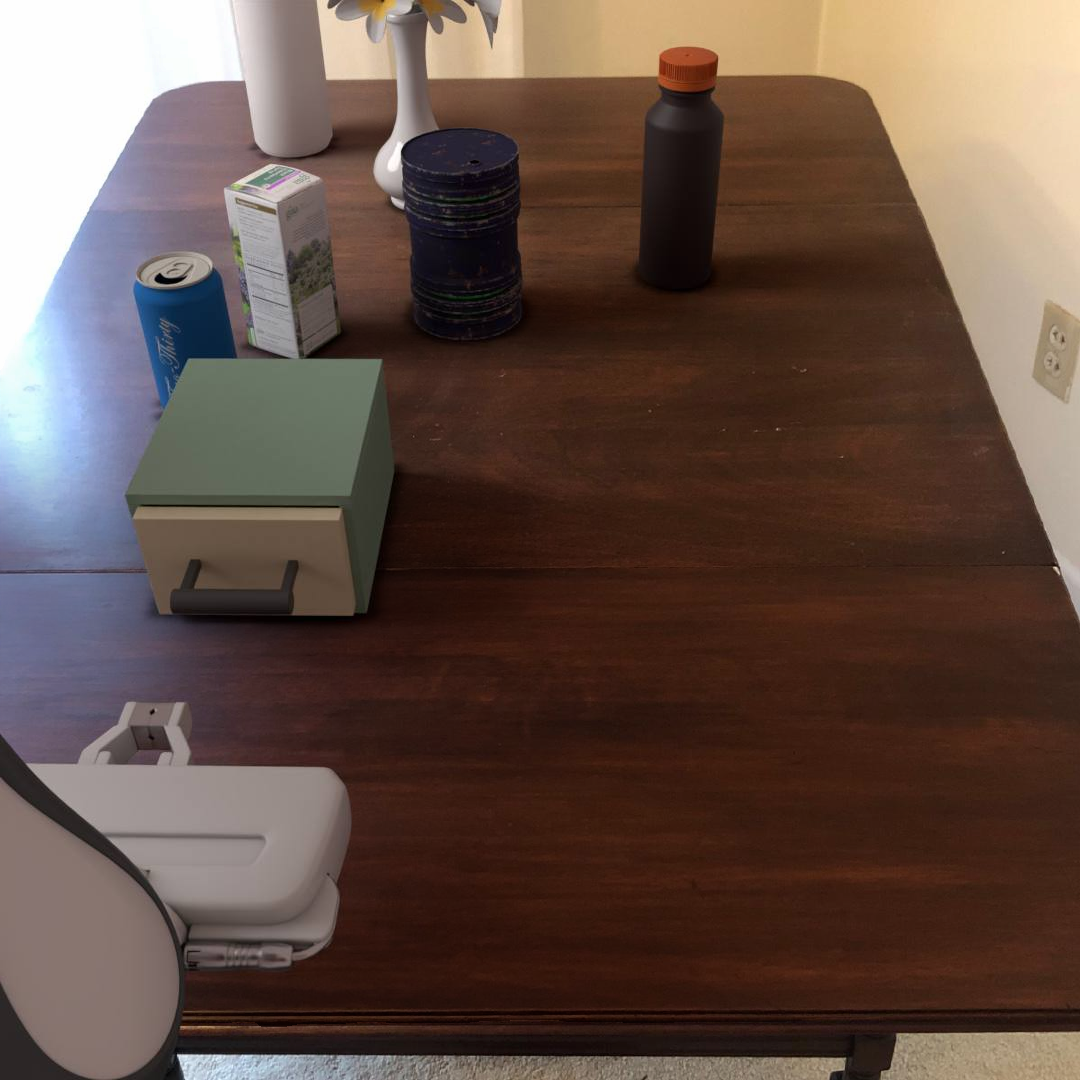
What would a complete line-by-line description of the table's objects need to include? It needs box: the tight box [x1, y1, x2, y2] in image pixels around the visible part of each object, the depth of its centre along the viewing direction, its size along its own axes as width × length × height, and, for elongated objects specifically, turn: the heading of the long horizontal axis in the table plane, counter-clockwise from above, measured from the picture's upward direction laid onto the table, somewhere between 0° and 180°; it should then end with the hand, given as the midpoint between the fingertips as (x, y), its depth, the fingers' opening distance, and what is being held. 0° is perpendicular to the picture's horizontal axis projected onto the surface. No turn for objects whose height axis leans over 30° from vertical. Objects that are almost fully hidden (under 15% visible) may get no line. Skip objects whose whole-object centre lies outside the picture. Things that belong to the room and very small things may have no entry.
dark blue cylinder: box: [401, 127, 524, 341], centre depth 104 cm, size 10×10×15 cm
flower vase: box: [326, 0, 502, 211], centre depth 120 cm, size 13×18×25 cm
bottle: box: [637, 46, 725, 291], centre depth 108 cm, size 7×7×20 cm
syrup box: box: [223, 163, 342, 359], centre depth 101 cm, size 6×6×14 cm
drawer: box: [132, 505, 356, 617], centre depth 79 cm, size 19×12×8 cm, turn 179°
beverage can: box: [132, 251, 238, 411], centre depth 94 cm, size 6×6×12 cm
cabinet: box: [124, 358, 395, 614], centre depth 82 cm, size 16×14×10 cm
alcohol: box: [231, 0, 334, 158], centre depth 130 cm, size 9×9×30 cm
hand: (161, 710), depth 60 cm, fingers closed
